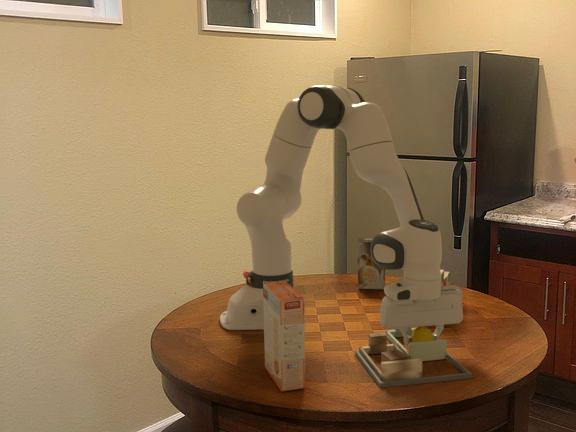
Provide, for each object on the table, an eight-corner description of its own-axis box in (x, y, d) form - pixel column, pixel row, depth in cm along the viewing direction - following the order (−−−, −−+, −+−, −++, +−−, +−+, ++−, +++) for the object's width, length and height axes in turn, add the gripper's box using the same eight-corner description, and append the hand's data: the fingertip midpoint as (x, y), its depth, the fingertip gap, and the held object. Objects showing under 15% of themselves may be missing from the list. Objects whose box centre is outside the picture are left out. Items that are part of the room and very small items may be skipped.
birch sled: (382, 383, 139) (382, 363, 138) (358, 352, 157) (358, 334, 156) (422, 379, 141) (422, 359, 140) (393, 348, 158) (394, 331, 157)
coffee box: (385, 284, 214) (385, 237, 211) (385, 289, 208) (385, 242, 205) (358, 283, 215) (358, 237, 213) (357, 289, 209) (357, 241, 206)
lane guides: (380, 387, 138) (380, 383, 137) (355, 354, 156) (355, 350, 155) (471, 377, 141) (471, 373, 141) (437, 346, 159) (437, 343, 159)
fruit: (437, 358, 152) (437, 327, 151) (415, 361, 151) (416, 329, 150) (427, 350, 158) (428, 319, 156) (406, 352, 156) (407, 321, 155)
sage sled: (410, 362, 150) (410, 344, 149) (384, 335, 167) (384, 319, 166) (446, 358, 151) (447, 340, 151) (417, 332, 169) (418, 316, 168)
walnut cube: (390, 378, 142) (391, 359, 141) (380, 371, 146) (381, 352, 145) (408, 375, 144) (408, 356, 143) (398, 367, 148) (398, 349, 147)
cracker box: (307, 389, 138) (305, 296, 134) (280, 393, 136) (278, 299, 132) (288, 364, 151) (286, 279, 147) (264, 367, 149) (261, 282, 145)
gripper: (457, 281, 157) (455, 334, 159) (377, 287, 153) (377, 341, 156) (468, 288, 151) (466, 343, 153) (386, 294, 147) (386, 351, 149)
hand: (421, 342), depth 154 cm, fingers closed on fruit, 6 cm apart
